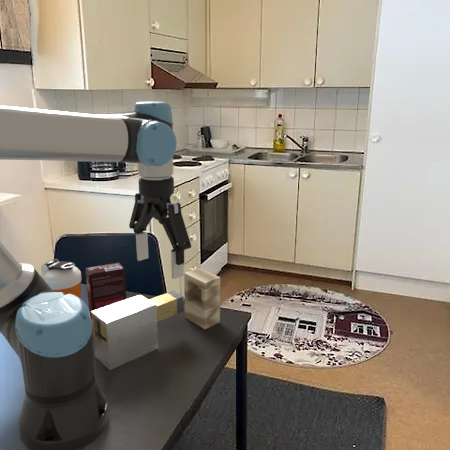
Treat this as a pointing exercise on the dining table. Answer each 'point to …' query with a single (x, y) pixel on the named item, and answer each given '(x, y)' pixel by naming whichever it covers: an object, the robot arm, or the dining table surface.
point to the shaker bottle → (62, 277)
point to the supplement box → (105, 285)
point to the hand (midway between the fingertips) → (159, 267)
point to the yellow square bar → (162, 307)
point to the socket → (202, 297)
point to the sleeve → (125, 331)
